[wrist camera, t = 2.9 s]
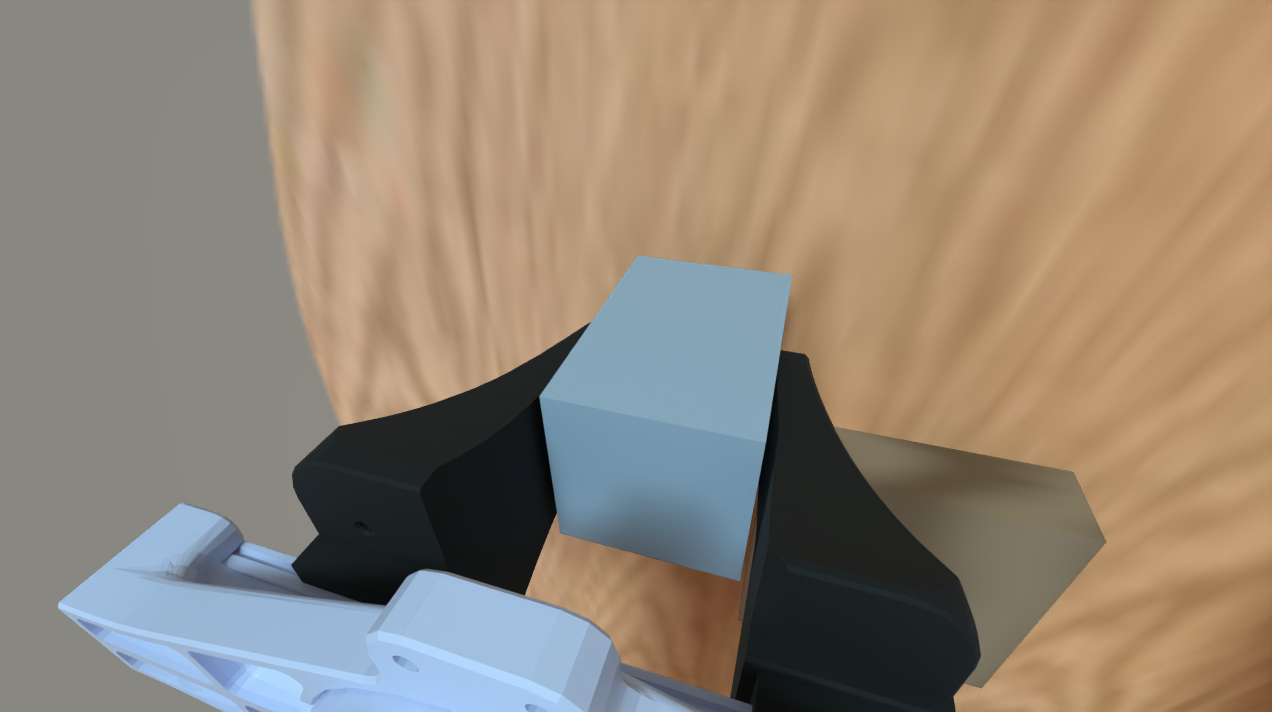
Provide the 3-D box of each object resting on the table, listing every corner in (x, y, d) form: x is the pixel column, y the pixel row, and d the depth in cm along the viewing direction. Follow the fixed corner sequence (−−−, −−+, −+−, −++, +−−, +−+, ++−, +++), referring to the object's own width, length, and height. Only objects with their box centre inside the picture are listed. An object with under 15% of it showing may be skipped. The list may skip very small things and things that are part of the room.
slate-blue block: (792, 275, 13) (765, 442, 9) (769, 398, 16) (739, 581, 11) (637, 255, 14) (539, 396, 10) (638, 374, 17) (560, 532, 12)
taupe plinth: (1069, 462, 17) (1106, 542, 14) (966, 612, 22) (981, 688, 20) (777, 408, 19) (769, 470, 17) (747, 557, 24) (738, 619, 22)
